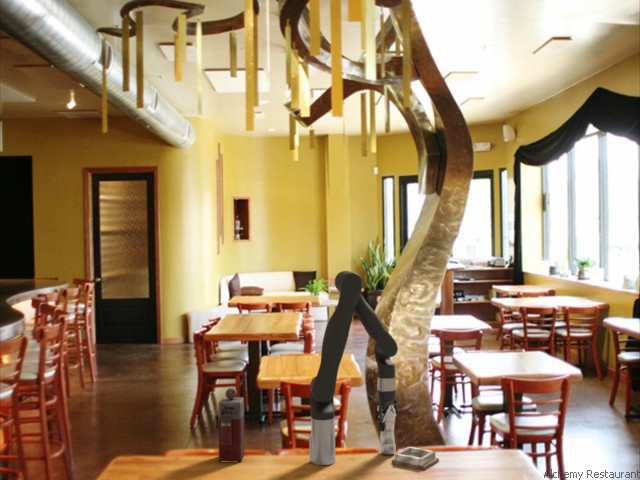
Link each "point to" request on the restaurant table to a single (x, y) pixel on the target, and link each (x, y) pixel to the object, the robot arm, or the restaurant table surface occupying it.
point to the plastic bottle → (388, 435)
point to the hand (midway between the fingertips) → (387, 428)
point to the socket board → (415, 458)
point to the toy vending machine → (231, 427)
